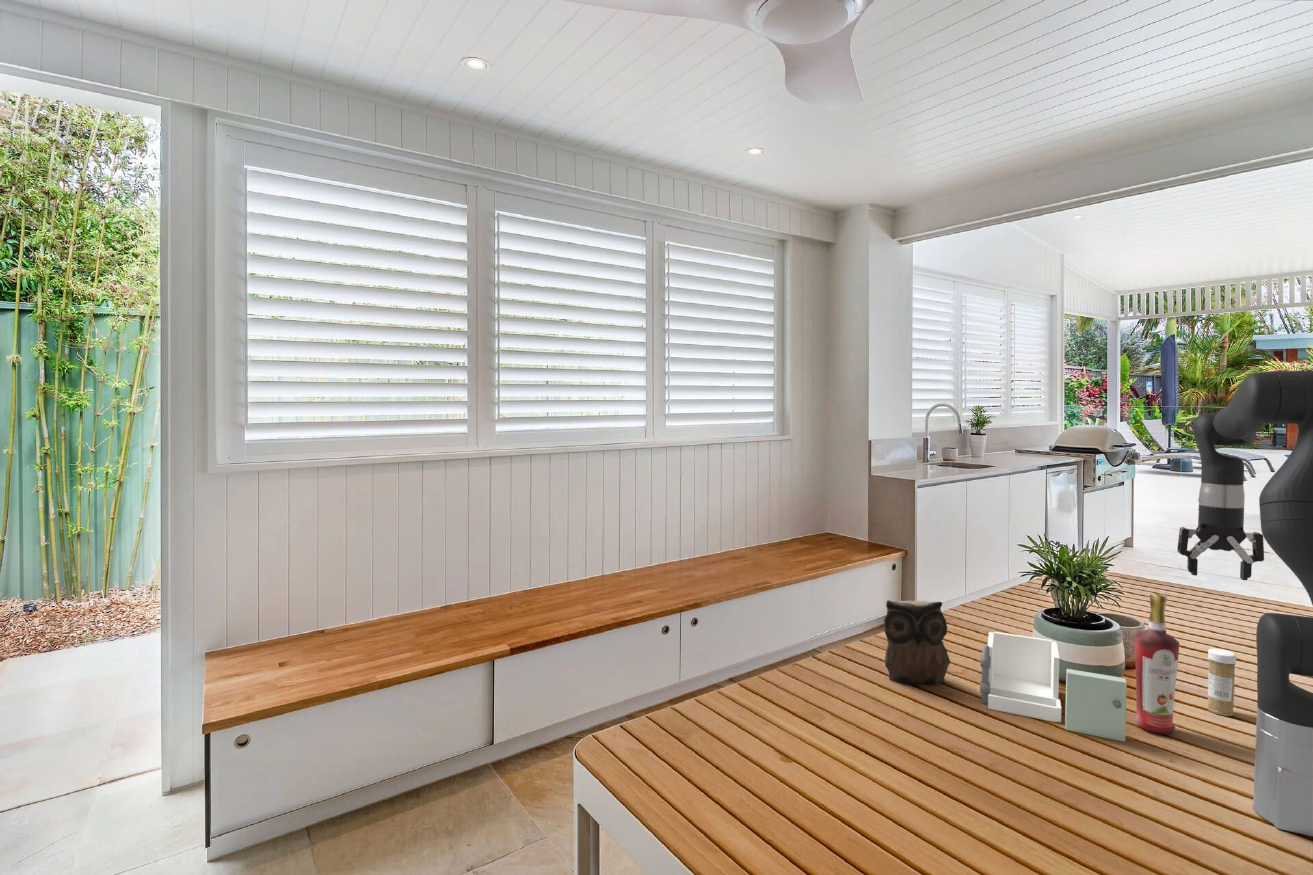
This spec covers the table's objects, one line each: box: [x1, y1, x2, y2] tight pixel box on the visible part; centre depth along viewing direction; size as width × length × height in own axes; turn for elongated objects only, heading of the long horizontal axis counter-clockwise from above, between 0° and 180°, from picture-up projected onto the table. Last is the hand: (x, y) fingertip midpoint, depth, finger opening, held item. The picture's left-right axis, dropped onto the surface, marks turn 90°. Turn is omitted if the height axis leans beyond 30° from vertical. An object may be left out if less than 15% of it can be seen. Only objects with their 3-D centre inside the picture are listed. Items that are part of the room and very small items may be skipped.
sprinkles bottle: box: [1206, 648, 1237, 717], centre depth 141 cm, size 5×5×14 cm
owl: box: [883, 599, 951, 687], centre depth 158 cm, size 13×13×20 cm
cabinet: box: [979, 630, 1062, 723], centre depth 148 cm, size 18×16×13 cm
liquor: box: [1133, 593, 1180, 735], centre depth 133 cm, size 7×7×28 cm
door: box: [1064, 668, 1128, 742], centre depth 132 cm, size 3×10×12 cm, turn 61°
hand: (1218, 577), depth 142 cm, fingers open, 8 cm apart
